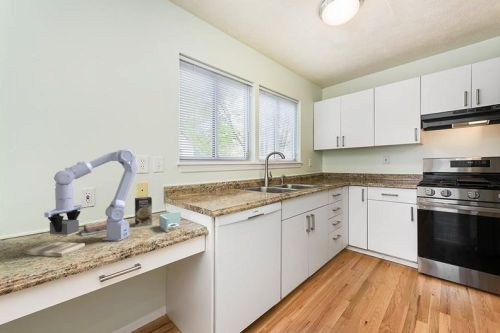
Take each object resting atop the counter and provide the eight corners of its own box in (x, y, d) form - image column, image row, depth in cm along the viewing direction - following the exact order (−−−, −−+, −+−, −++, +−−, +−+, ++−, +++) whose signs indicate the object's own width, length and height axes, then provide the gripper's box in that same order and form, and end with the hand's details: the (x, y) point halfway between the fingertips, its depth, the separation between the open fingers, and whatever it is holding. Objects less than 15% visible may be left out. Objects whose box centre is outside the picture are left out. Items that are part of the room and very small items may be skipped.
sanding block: (79, 232, 95) (78, 220, 95) (67, 236, 90) (67, 223, 90) (62, 231, 97) (61, 219, 96) (50, 235, 92) (49, 222, 92)
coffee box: (135, 227, 124) (134, 199, 123) (134, 224, 129) (134, 197, 129) (152, 224, 128) (152, 197, 127) (151, 222, 134) (151, 196, 133)
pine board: (84, 246, 96) (84, 243, 96) (62, 256, 86) (61, 253, 86) (50, 244, 98) (50, 241, 98) (24, 254, 88) (24, 250, 88)
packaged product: (118, 217, 128) (122, 221, 121) (118, 225, 128) (122, 229, 121) (80, 223, 116) (81, 227, 109) (80, 232, 116) (81, 237, 109)
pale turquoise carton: (166, 233, 115) (166, 219, 115) (159, 227, 124) (159, 214, 124) (188, 228, 123) (187, 215, 123) (179, 223, 132) (179, 211, 132)
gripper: (72, 195, 101) (73, 224, 101) (37, 201, 86) (38, 234, 87) (85, 195, 99) (86, 225, 100) (52, 201, 85) (53, 235, 86)
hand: (65, 229), depth 93 cm, fingers closed on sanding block, 5 cm apart
